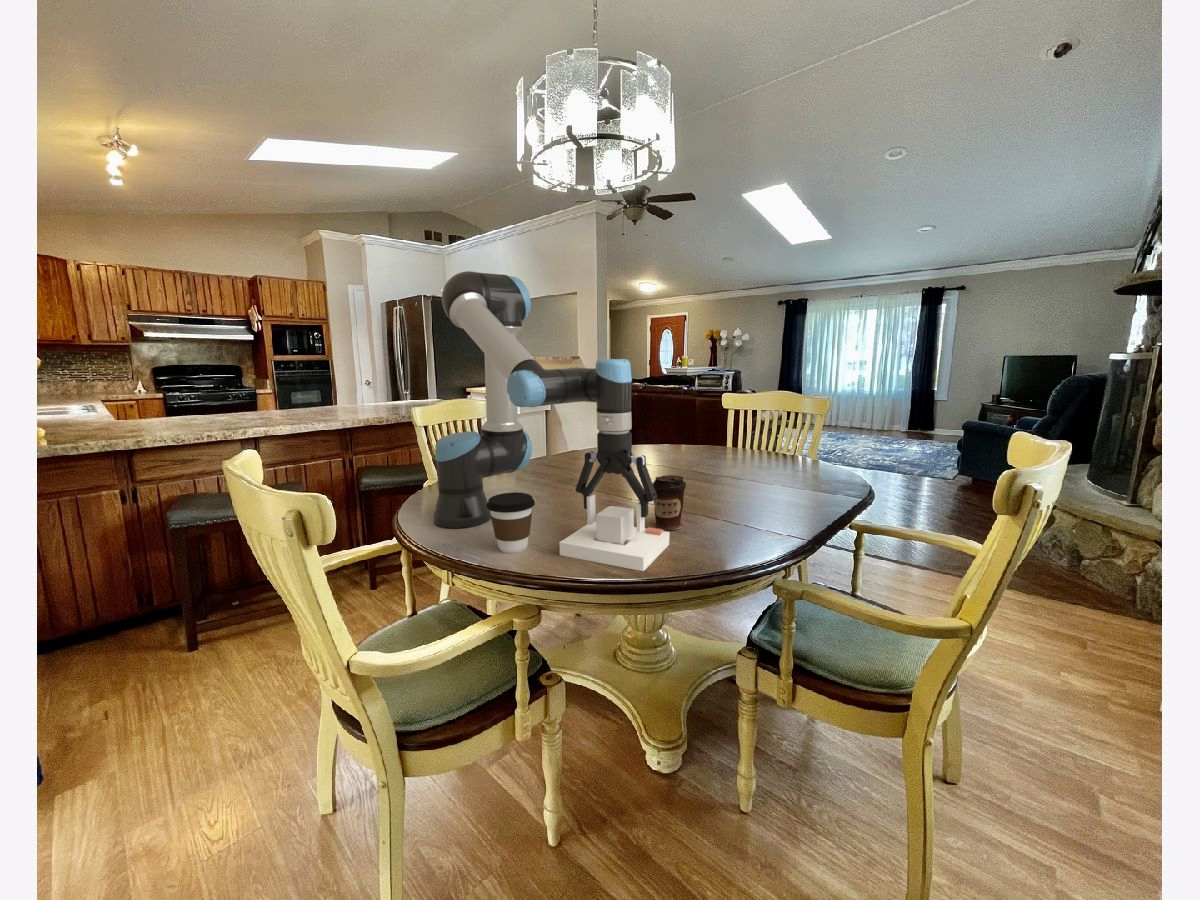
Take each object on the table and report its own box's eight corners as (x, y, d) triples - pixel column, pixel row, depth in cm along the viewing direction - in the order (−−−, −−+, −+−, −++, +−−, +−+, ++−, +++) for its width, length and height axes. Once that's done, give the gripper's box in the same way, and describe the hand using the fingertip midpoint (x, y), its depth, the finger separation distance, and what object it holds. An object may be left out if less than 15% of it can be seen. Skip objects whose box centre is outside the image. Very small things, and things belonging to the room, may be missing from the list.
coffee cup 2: (684, 534, 122) (685, 482, 120) (650, 532, 124) (650, 481, 121) (685, 522, 131) (686, 474, 128) (654, 520, 132) (654, 473, 130)
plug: (621, 556, 109) (620, 518, 107) (596, 552, 112) (596, 514, 110) (633, 545, 115) (633, 508, 113) (610, 541, 118) (610, 505, 116)
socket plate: (643, 571, 102) (643, 553, 101) (559, 555, 111) (559, 538, 110) (669, 544, 116) (669, 528, 115) (593, 531, 125) (593, 517, 124)
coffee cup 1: (495, 539, 121) (492, 491, 119) (540, 539, 121) (538, 491, 118) (483, 557, 110) (480, 505, 108) (532, 557, 110) (530, 505, 108)
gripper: (558, 430, 110) (561, 524, 114) (660, 437, 100) (659, 540, 104) (575, 426, 117) (577, 514, 121) (672, 431, 106) (671, 528, 110)
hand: (615, 526), depth 112 cm, fingers open, 11 cm apart
